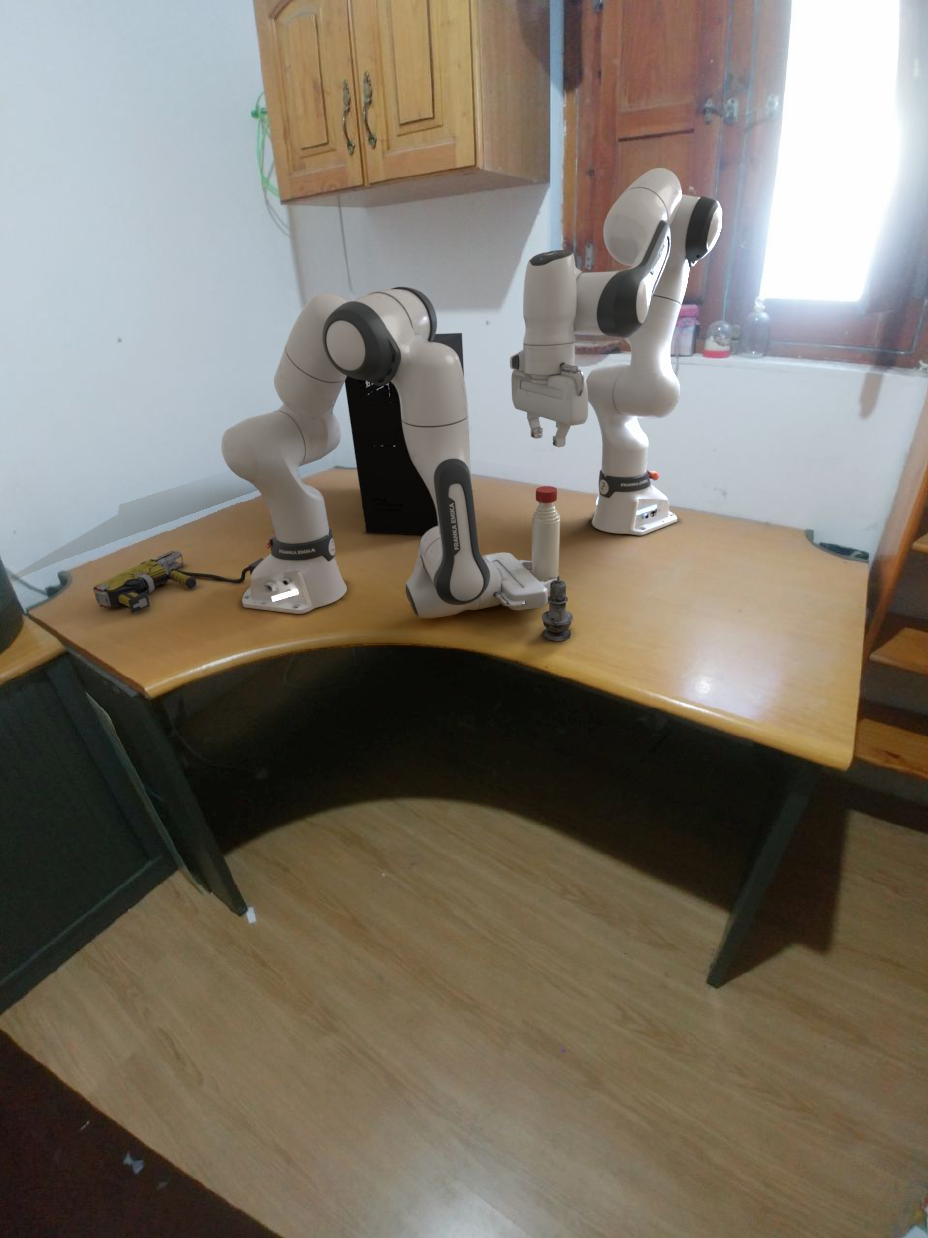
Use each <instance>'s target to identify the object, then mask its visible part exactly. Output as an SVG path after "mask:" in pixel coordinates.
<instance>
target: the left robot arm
mask: <svg viewBox="0 0 928 1238" xmlns="http://www.w3.org/2000/svg"><path fill="white" fill-rule="evenodd" d="M437 330H438V317H437V312H436V309H435V308H434V305H433V303H432V302H431V300H430V298H429V297H428V296H427V295H426V294H424V293H423V292H421V290H418V289H415V288H414V287H413V288H412V287H408V286H397V287H393V288H390V289H383V290H382V289H381V290H377V291H373V292H370V293H368V294H366V295H364V296H361V297H358V298H356V299H354V300H352V301H348V300H346V299H345V298H344V297H342V296H341V295H338V294H335V293H331V292H320V293H316V294H314V295H313V296H311V297H310V298H309V299H308V300H307V302H306V303H305V305H304V306H303V308H302V309H301V311H300V312H299V315H298V316H297V318H296V320H295V322H294V324H293V325H292V328H291V330H290V332H289V334H288V337H287V339H286V342H285V345H284V348H283V351H282V354H281V356H280V359H279V362H278V365H277V367H276V370H275V374H274V376H273V386H274V389H275V392H276V394H277V396H278V398H279V399H280V401H281V403H283V404H281V406H280V407H279V408H277V409H276V410H273V411H271V412H266V413H263V414H259V415H256V416H252V417H247V418H245V419H243V420H241V421H239V422H237V423H236V424H234V425H232V426H231V427H229V428H227V429H226V430H225V431H224V433H223V435H222V438H221V442H220V443H221V445H220V446H221V447H220V449H221V455H222V457H223V461H224V462H225V465H227V467H228V468H229V470H230V471H231V472H233V474H234V475H236V476H237V477H239V478H240V479H243V480H245V481H247V482H248V483H250V484H251V485H253V486H254V488H256V489H257V491H258V492H259V493H260V494H261V496H262V497H263V500H264V501H265V504H266V505H267V509H268V512H269V515H270V516H269V517H270V520H271V523H272V527H273V532H272V536H271V537H269V539H268V541H267V543H266V544H265V547H266V548H265V549H266V550H267V551H268V550H269V549H270V553H268V554H267V555H266V556H265V557H264V558H263V557H260V558H258V559H257V560H255V561H253V562H252V563H250V564H248V565H247V567H244V568H243V569H242V570H241V574H240V577H239V578H237V579H232V578H227V577H224V576H220V575H217V574H211V573H202V572H201V573H200V572H190V571H183V570H179V569H172V570H171V571H177V572H179V573H182V574H184V575H187V576H189V577H193V578H206V579H214V580H219V581H222V582H226V583H233V584H234V583H235V584H240V583H242V582H244V581H245V578H246V574H247V573H248V572H249V574H250V578H249V587H248V588H247V589H246V591H245V592H244V594H243V595H242V598H241V604H242V606H243V608H246V609H247V608H248V609H255V610H261V611H262V610H263V611H270V612H279V613H287V614H294V615H295V614H296V615H303V614H306V613H308V612H311V611H312V610H315V609H317V608H320V607H321V608H322V607H324V606H327V605H331V604H333V603H334V602H336V601H338V600H340V599H341V598H342V597H344V596H345V595H346V593H347V591H348V587H347V586H348V585H346V582H345V580H344V579H343V576H342V573H341V571H340V567H339V565H338V563H337V562H338V561H337V559H336V546H335V540H334V536H333V532H332V529H331V528H330V527H329V520H328V514H327V509H326V502H325V499H324V496H323V494H322V493H321V492H320V491H319V490H318V489H317V488H315V487H314V486H311V485H309V484H306V483H304V482H303V480H302V477H301V475H300V473H299V468H300V467H302V466H305V465H308V464H310V463H313V462H316V461H319V460H322V459H323V458H324V457H326V456H327V455H329V454H330V453H331V452H333V451H335V449H336V448H338V446H339V445H340V441H341V436H342V435H341V434H342V431H341V426H340V423H339V420H338V418H337V416H336V414H335V413H334V407H335V405H336V402H337V400H338V398H339V395H340V393H341V391H342V389H343V386H344V385H345V380H346V377H347V376H348V377H351V378H355V379H359V380H365V381H368V382H370V383H372V384H375V385H377V386H383V387H384V386H385V385H386V384H387V385H389V384H388V383H389V382H390V381H391V382H392V383H393V384H394V386H395V387H396V389H397V391H398V394H399V399H400V407H401V418H402V427H403V433H404V438H405V442H406V445H407V449H408V452H409V455H410V458H411V460H412V462H413V464H414V466H415V467H416V469H417V471H418V472H419V474H420V476H421V477H422V479H423V481H424V482H425V484H426V486H427V488H428V490H429V492H430V494H431V496H432V498H433V501H434V504H435V508H436V512H437V519H438V526H435V527H433V528H431V529H429V530H428V531H427V532H426V533H425V534H424V535H421V538H420V540H419V542H418V551H417V558H416V561H415V565H414V568H413V571H412V573H411V575H410V577H409V578H408V579H407V580H406V581H405V583H404V584H405V585H404V586H405V588H404V589H405V594H406V598H407V600H408V602H409V605H410V607H411V609H412V612H413V613H414V615H416V616H417V617H418V618H421V619H437V618H444V617H449V616H455V615H458V614H459V613H462V612H464V611H479V610H483V609H489V608H492V607H497V606H500V605H501V606H502V607H508V608H509V609H510V610H514V611H525V610H532V609H539V608H544V607H546V605H547V604H548V592H549V591H550V584H551V582H552V581H554V580H557V577H551V578H549V580H548V581H546V582H544V581H542V582H539V581H538V580H537V579H536V578H535V577H534V576H533V575H532V572H531V571H532V560H524V559H520V560H518V559H517V558H516V557H515V556H514V555H513V554H512V553H510V552H504V551H503V552H496V553H488V554H485V555H482V554H481V551H480V547H479V539H478V529H477V520H476V512H475V511H476V509H475V502H474V494H473V486H472V470H471V469H472V468H471V450H470V448H471V447H470V420H469V419H470V417H469V404H468V393H467V388H466V381H465V375H464V376H463V371H462V367H461V363H460V360H459V357H458V355H457V353H456V352H455V351H454V350H453V349H452V348H450V347H449V346H446V345H444V344H441V343H436V342H432V341H433V339H434V337H435V334H437ZM383 380H384V381H383ZM381 381H383V382H381ZM145 562H146V561H143V562H141V563H140V564H139V565H141V564H143V563H145ZM171 571H170V572H171Z"/></svg>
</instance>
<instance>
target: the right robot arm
mask: <svg viewBox="0 0 928 1238" xmlns="http://www.w3.org/2000/svg"><path fill="white" fill-rule="evenodd" d="M681 185H682V184H681V182H680V180H679V178H678V177H677V175H676V174H675V173H674V172H673V171H671V170H670V169H668V168H665V167H656V168H651V169H649V170H648V171H646V172H644V173H642V174H641V175H640V176H639V177H637V178H636V179H635V180H634V181H633V182H632V183H631V184H629V186H628V187H627V188H625V190H624V191H623V192H622V194H621V195H619V197H618V199H616V201H615V202H614V203H613V204H612V206H611V208H610V209H609V210H608V213H607V214H606V216H605V220H604V223H603V231H602V233H603V235H602V236H603V241H604V245H605V247H606V250H607V251H608V253H609V254H610V256H611V257H612V259H614V260H615V261H616V262H617V263H619V264H621V265H623V266H628V267H629V266H630V267H629V268H625V269H621V270H613V271H591V272H583V270H580V269H579V268H577V267H576V259H575V254H574V253H573V252H572V251H570V250H567V249H558V250H557V249H556V250H550V251H546V252H545V251H544V252H541V253H538V254H535V255H534V256H532V257H531V258H530V259H528V261H527V264H526V267H525V273H524V274H525V275H524V282H523V294H522V295H523V296H522V317H523V320H524V325H525V329H524V330H525V331H524V336H523V339H522V340H523V341H522V349H521V350H519V352H517V353H515V354H513V355H511V356H510V357H509V367H510V369H511V370H512V372H511V400H512V404H513V407H514V408H515V409H516V410H518V411H522V412H525V413H526V420H527V422H528V425H529V428H530V437H531V438H533V439H537V440H538V439H542V437H543V436H544V435H543V432H544V428H543V427H541V422H540V418H544V419H547V420H549V421H553V422H555V428H556V432H555V435H553V436H552V446H554V447H556V448H563V447H565V446H566V440H567V439H566V437H567V435H568V433H569V431H570V429H571V427H572V426H579V425H584V424H585V423H586V422H587V421H588V417H589V404H590V406H591V407H592V409H593V411H594V413H595V415H596V418H597V422H598V425H599V429H600V434H601V435H600V436H601V441H602V442H601V443H602V444H601V445H602V447H601V468H600V470H599V474H598V492H599V493H598V495H597V498H596V502H595V505H596V507H595V511H594V514H593V517H592V520H591V525H592V526H593V527H594V528H595V529H597V530H599V531H601V532H605V533H611V534H623V535H625V534H626V535H632V536H633V535H634V536H645V535H646V534H650V533H652V532H654V531H657V530H660V529H662V528H665V527H668V526H670V525H672V524H675V523H677V522H678V516H677V515H676V514H675V513H674V512H672V511H670V503H669V502H670V501H669V498H668V497H667V496H666V495H665V494H664V493H663V492H661V491H660V490H659V489H658V488H656V487H655V486H654V485H652V483H651V480H653V481H658V479H659V478H660V473H659V472H657V471H654V470H651V471H649V470H648V469H647V466H648V458H649V457H648V456H649V446H650V442H649V437H648V435H647V434H646V433H645V432H644V431H643V429H642V428H641V426H640V423H639V421H638V419H643V420H651V419H663V418H665V417H668V416H669V415H670V414H671V413H673V411H674V410H675V409H676V407H677V405H678V403H679V401H680V397H681V385H680V381H679V378H678V377H677V376H676V374H675V372H674V370H673V367H672V361H671V360H672V359H671V348H672V347H671V346H672V340H673V335H674V333H675V328H676V325H677V322H678V321H677V320H678V318H679V316H680V315H679V314H680V311H681V308H682V305H683V301H684V297H685V294H686V290H687V285H688V278H689V275H690V274H689V273H690V268H692V267H694V266H695V265H696V264H697V262H698V261H700V260H702V259H704V257H706V256H707V255H708V254H709V253H710V252H711V251H712V250H713V248H714V247H715V244H716V243H717V240H718V238H719V236H720V232H721V229H722V223H723V222H722V219H723V218H722V217H723V210H722V207H721V205H720V202H719V200H717V199H715V198H712V197H709V196H705V195H702V196H701V197H700V196H695V195H690V194H683V192H682V186H681ZM576 335H582V336H608V337H614V338H622V339H624V340H625V341H626V343H627V344H628V345H629V346H630V364H622V363H607V364H603V365H597V366H596V367H594V368H593V369H592V370H591V371H590V372H589V374H588V375H587V377H586V378H585V374H584V373H583V371H582V370H581V367H580V366H579V365H575V361H576V360H575V359H576Z"/></svg>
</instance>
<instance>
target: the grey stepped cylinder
mask: <svg viewBox="0 0 928 1238" xmlns="http://www.w3.org/2000/svg"><path fill="white" fill-rule="evenodd" d="M568 600H569V598H568V596H567V583H566V581H564V580H562V579H561V577H560V576H558V577H557V580H554V581H552V582H551V584H550V596H549V597H548V601H549V605H548V610H546V611H544V612H543V613H542V614H541V616H540V617H541V620H542V621H543V622H542V623H543V626H544V629H543V630H542V636H543V637H544V638H545V639H547V640H548V641H553V642H554V641H555V642H561V641H565V640H568V639H570V637H571V636H572V632H571V630H570V629H569V628H570V626H571V625H572V622H573V621H574V615H573V614H572V613H571V612H570V611H567V602H568Z"/></svg>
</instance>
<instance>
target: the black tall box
mask: <svg viewBox="0 0 928 1238" xmlns="http://www.w3.org/2000/svg"><path fill="white" fill-rule="evenodd" d="M432 342H436V343H441V344H444V345H446V346H449V347H450V348H452V349H453V350H454V351H455V352H456V353H457V355H458V357H459V360H460V363H461V367H462V371H463V376H464V377H465V369H464V368H465V367H464V348H463V346H464V345H463V332H452V333H450V332H448V333H436V334H435V337H434V339H433V341H432ZM383 381H384V380H383ZM383 381H381V382H383ZM344 387H345V393H346V401H347V408H348V416H349V422H350V429H351V430H350V431H351V436H352V443H353V450H354V451H353V452H354V459H355V464H356V471H357V478H358V485H359V486H358V487H359V492H360V493H359V494H360V500H361V507H362V515H363V520H364V529H365V533H366V534H367V533H368V534H387V535H388V534H389V535H390V534H391V535H413V536H414V535H415V536H423V535H424V534H425V533H426V532H427V531H428V530H429V529H431V528H433V527H435V526H438V519H437V512H436V508H435V504H434V501H433V498H432V496H431V494H430V492H429V490H428V488H427V486H426V484H425V482H424V481H423V479H422V477H421V476H420V474H419V472H418V471H417V469H416V467H415V466H414V464H413V462H412V460H411V458H410V455H409V452H408V449H407V445H406V442H405V438H404V433H403V427H402V418H401V407H400V399H399V394H398V391H397V389H396V387H395V386H394V384H393V383H392V382H391V381H390V382H389V383H388V384H386V385H385V386H377V385H375V384H372V383H370V382H368V381H365V380H359V379H355V378H351V377H348V376H347V377H346V380H345V382H344Z"/></svg>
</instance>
